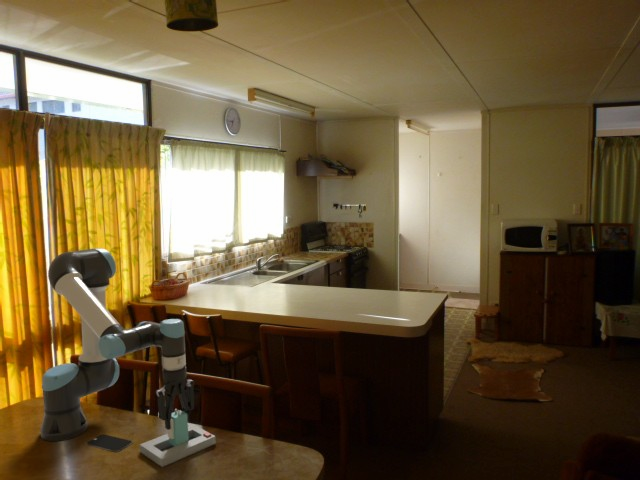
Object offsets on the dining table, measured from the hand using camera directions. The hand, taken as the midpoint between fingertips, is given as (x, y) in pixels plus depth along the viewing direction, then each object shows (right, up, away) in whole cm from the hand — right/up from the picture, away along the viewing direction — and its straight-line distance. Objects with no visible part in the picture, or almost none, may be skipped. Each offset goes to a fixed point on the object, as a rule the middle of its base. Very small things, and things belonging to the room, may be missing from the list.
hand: (178, 434), depth 176 cm
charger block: (0, -3, 0) cm, 3 cm away
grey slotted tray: (0, -5, +1) cm, 5 cm away
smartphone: (-25, -5, +5) cm, 26 cm away
